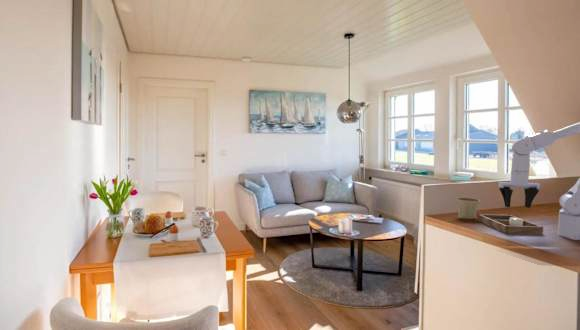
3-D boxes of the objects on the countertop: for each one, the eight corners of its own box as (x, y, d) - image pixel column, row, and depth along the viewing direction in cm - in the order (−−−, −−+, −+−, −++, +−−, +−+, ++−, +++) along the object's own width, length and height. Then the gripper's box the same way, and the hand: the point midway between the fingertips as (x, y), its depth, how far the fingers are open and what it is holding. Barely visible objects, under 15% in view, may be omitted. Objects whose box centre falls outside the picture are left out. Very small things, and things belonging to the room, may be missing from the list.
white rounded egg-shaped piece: (524, 231, 141) (525, 220, 141) (513, 231, 141) (514, 219, 141) (517, 228, 146) (518, 217, 145) (506, 228, 146) (507, 217, 145)
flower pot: (482, 219, 165) (483, 199, 164) (473, 222, 159) (474, 201, 158) (460, 215, 172) (461, 196, 171) (451, 218, 165) (452, 198, 165)
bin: (542, 236, 138) (543, 227, 138) (505, 235, 138) (506, 226, 138) (509, 223, 159) (510, 215, 158) (477, 222, 158) (477, 214, 158)
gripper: (532, 170, 147) (530, 205, 148) (495, 169, 147) (492, 204, 148) (544, 172, 140) (541, 209, 141) (505, 171, 140) (502, 208, 141)
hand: (517, 207), depth 144 cm, fingers open, 7 cm apart
